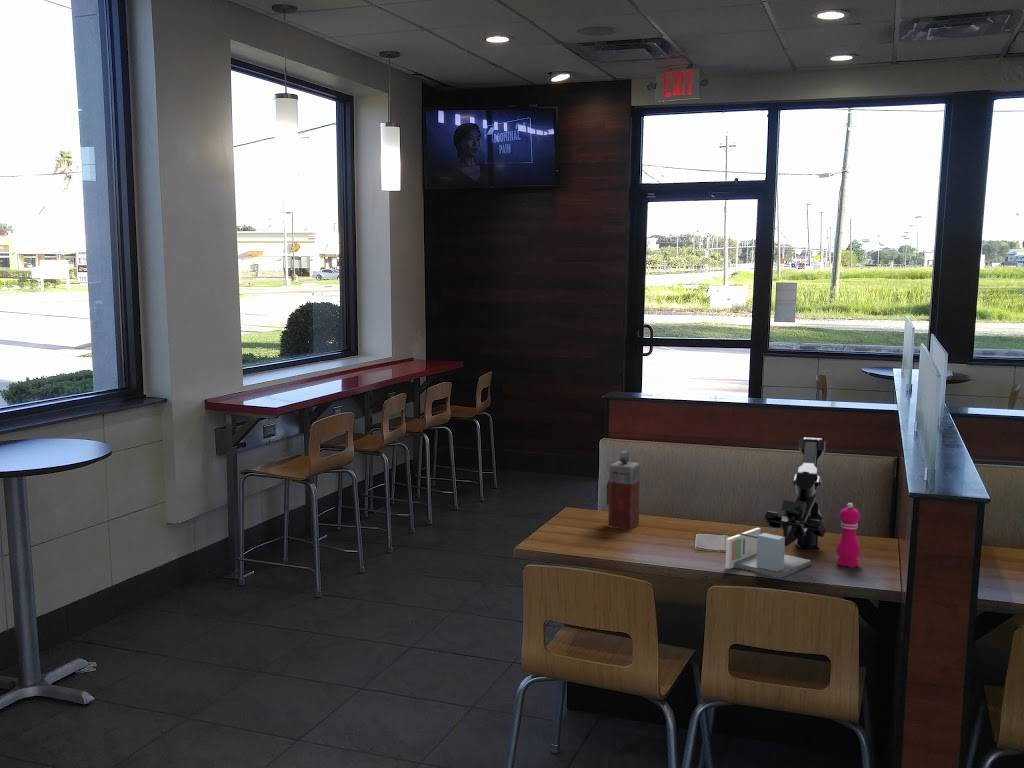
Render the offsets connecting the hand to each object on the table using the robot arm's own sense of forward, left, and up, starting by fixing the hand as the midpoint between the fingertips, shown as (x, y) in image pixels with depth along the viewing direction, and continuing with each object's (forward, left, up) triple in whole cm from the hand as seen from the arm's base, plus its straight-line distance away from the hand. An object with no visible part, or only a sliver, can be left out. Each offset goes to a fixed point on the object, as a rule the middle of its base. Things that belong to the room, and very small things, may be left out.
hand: (784, 545), depth 281 cm
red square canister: (+45, -52, -7) cm, 69 cm away
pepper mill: (-21, -3, -7) cm, 23 cm away
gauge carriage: (+9, +3, -5) cm, 11 cm away
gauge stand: (+4, -1, -7) cm, 8 cm away
